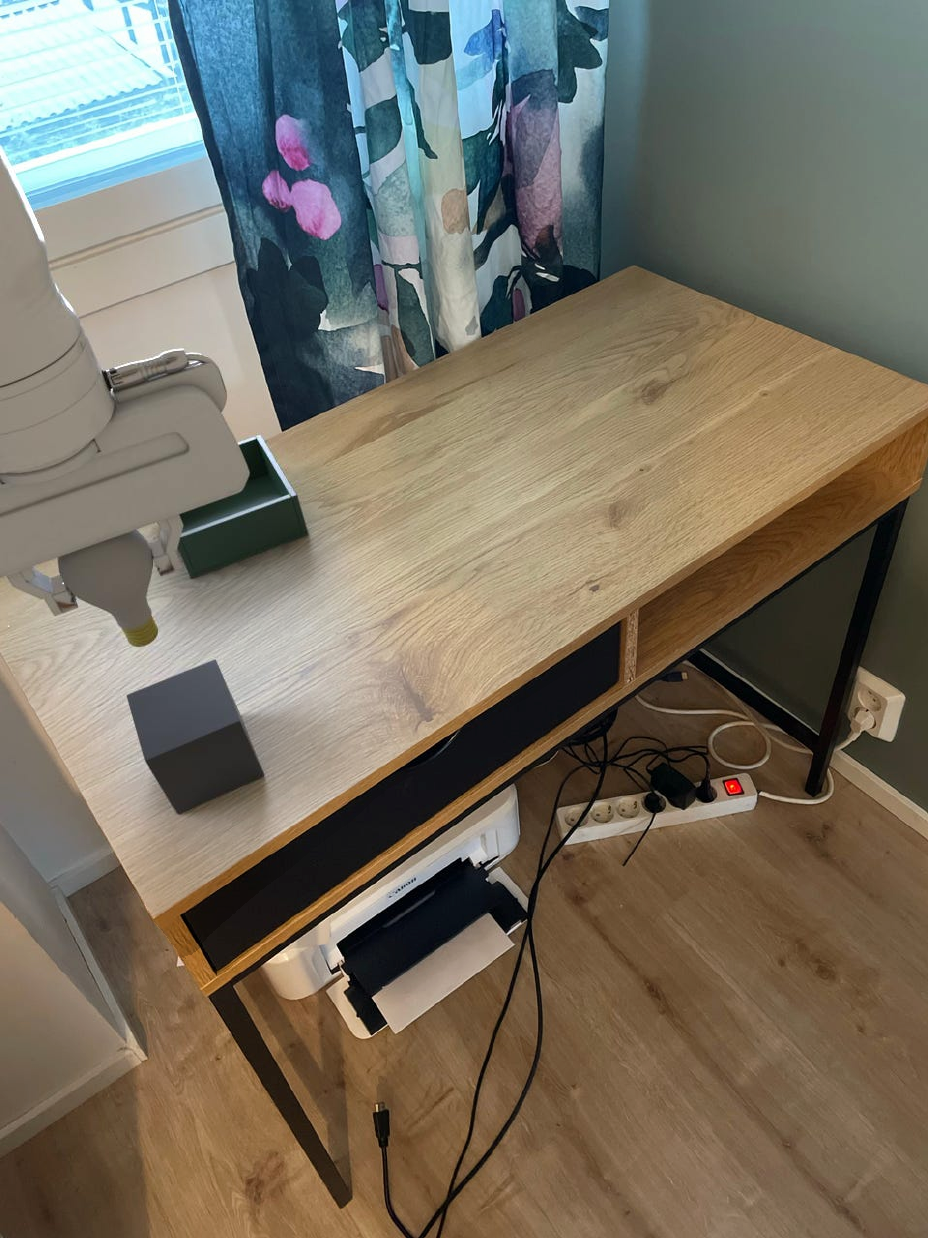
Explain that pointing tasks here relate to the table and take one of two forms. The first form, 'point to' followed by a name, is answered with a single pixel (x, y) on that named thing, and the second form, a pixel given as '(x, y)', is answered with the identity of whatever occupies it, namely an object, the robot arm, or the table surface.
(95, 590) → the light bulb
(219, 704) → the block
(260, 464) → the green open square box
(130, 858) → the table surface
